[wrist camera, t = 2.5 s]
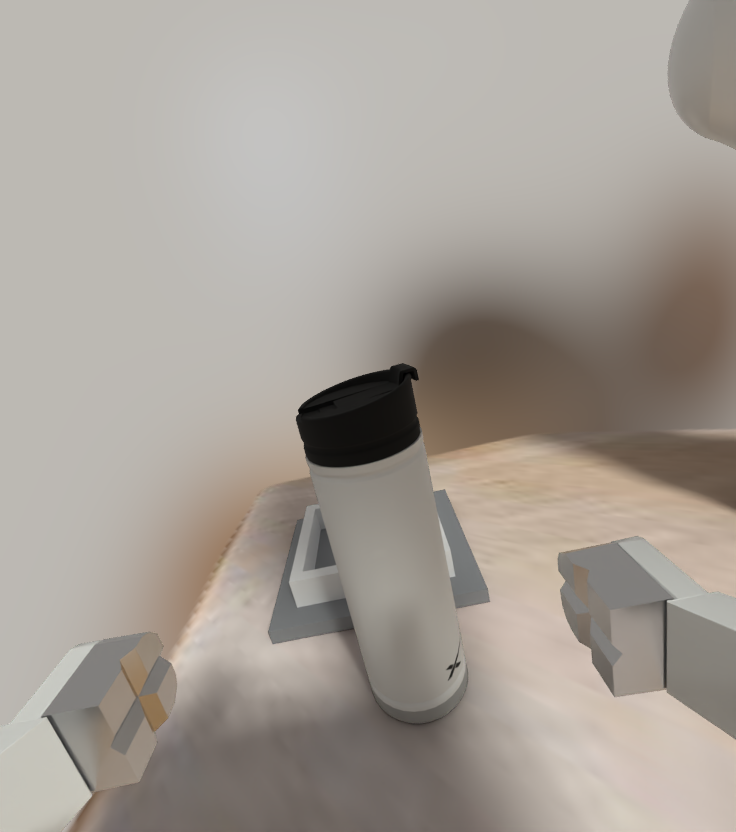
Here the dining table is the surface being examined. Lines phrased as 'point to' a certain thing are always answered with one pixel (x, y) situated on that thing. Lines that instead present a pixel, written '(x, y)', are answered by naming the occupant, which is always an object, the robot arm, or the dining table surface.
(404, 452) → the travel mug
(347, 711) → the dining table surface
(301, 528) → the grey square tray
